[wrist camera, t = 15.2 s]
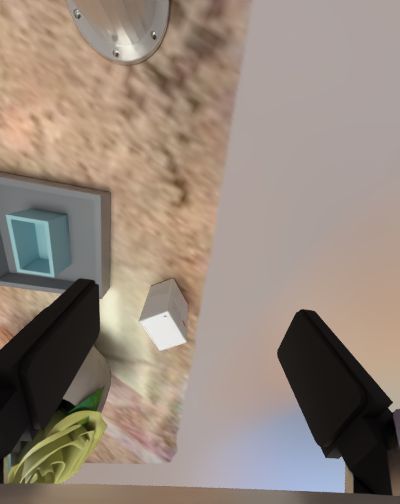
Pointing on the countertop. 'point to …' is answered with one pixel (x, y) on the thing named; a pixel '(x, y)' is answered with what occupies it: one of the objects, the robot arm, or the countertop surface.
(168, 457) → the countertop surface
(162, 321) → the small box
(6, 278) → the gray square tray
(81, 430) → the flower arrangement
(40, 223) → the small crate
